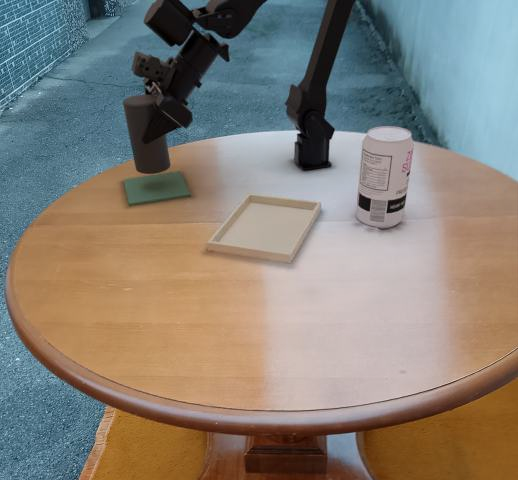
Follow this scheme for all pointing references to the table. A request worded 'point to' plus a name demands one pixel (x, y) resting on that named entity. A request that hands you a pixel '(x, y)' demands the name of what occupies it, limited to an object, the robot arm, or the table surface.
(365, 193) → the supplement can
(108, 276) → the table surface
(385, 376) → the table surface
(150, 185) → the plate
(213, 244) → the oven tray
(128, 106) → the dark grey cylinder
